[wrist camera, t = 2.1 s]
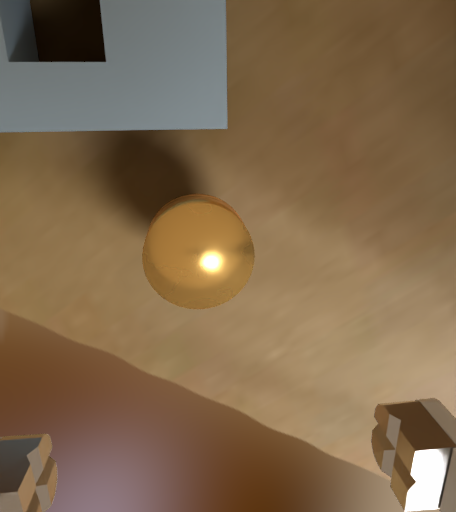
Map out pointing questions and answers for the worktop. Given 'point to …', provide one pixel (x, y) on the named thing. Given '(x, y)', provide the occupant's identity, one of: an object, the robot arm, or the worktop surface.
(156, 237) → the orange domed piece
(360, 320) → the worktop surface
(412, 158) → the worktop surface
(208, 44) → the blue-grey slotted block
